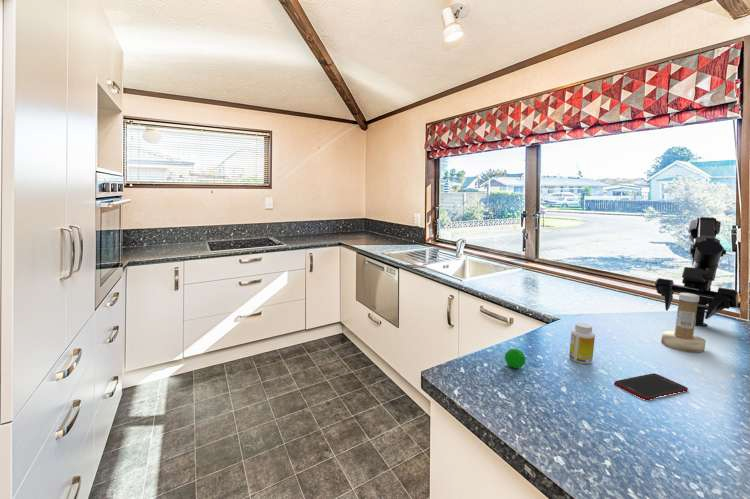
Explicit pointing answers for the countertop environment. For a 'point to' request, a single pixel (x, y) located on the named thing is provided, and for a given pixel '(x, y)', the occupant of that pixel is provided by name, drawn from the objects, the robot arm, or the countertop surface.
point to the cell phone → (650, 386)
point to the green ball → (515, 358)
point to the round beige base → (683, 343)
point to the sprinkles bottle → (686, 315)
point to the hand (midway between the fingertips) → (685, 313)
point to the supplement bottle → (582, 343)
